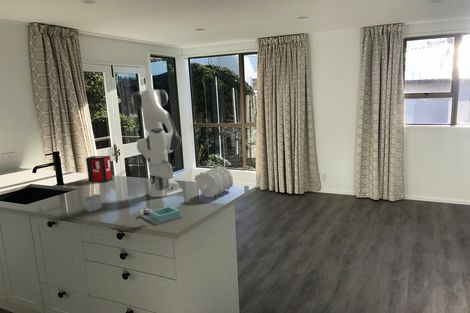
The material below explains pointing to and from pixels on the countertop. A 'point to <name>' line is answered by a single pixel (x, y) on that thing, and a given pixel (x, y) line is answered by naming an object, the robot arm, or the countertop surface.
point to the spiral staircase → (214, 181)
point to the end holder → (157, 214)
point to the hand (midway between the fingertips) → (162, 184)
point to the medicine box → (93, 202)
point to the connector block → (160, 184)
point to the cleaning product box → (99, 168)
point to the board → (155, 219)
